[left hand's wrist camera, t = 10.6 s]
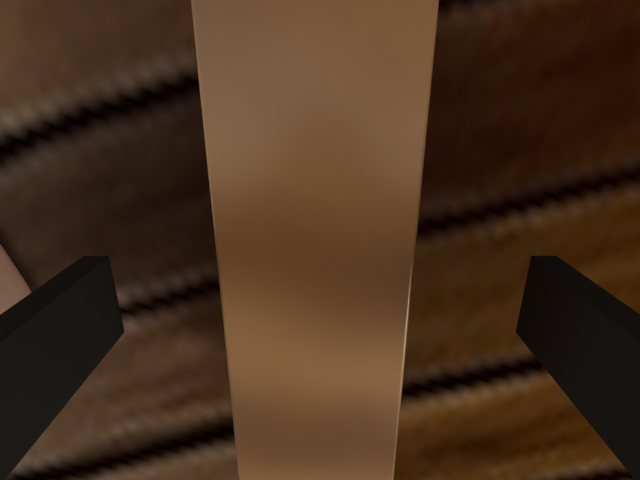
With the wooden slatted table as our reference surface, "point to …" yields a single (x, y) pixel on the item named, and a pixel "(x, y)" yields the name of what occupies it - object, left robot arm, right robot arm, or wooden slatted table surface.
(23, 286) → the anatomical model
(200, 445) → the wooden slatted table surface
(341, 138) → the bar
